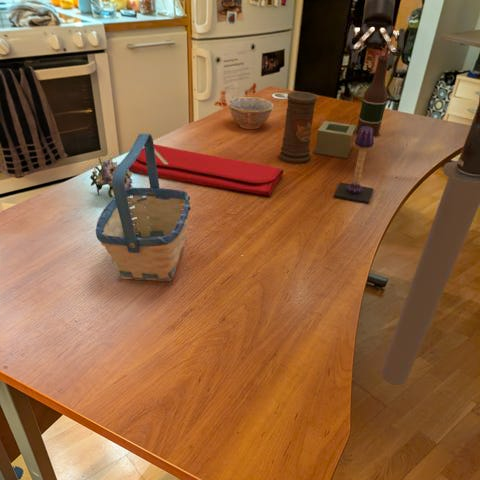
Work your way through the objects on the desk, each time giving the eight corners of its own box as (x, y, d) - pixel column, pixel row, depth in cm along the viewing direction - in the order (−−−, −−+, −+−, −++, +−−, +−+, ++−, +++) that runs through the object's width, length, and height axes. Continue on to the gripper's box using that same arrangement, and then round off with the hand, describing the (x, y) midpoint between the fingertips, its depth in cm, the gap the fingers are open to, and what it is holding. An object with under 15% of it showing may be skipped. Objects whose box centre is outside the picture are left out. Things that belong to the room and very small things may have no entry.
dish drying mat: (268, 198, 119) (269, 184, 117) (126, 172, 128) (125, 159, 126) (283, 175, 131) (284, 162, 129) (152, 153, 140) (151, 140, 137)
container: (274, 157, 141) (279, 94, 130) (291, 150, 147) (299, 89, 135) (297, 165, 137) (305, 101, 125) (314, 158, 142) (324, 95, 131)
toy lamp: (363, 195, 122) (378, 131, 111) (345, 194, 122) (359, 130, 111) (361, 188, 125) (375, 124, 115) (343, 186, 126) (356, 123, 115)
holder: (352, 147, 151) (356, 125, 146) (347, 158, 143) (351, 135, 139) (321, 142, 153) (324, 120, 149) (314, 152, 146) (317, 130, 141)
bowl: (281, 127, 163) (283, 105, 158) (249, 137, 154) (250, 113, 149) (249, 116, 171) (251, 94, 167) (217, 124, 163) (218, 101, 158)
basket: (124, 235, 102) (110, 126, 87) (197, 242, 101) (195, 133, 86) (91, 291, 86) (66, 169, 71) (177, 300, 85) (170, 178, 70)
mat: (372, 190, 126) (373, 188, 126) (368, 203, 120) (368, 201, 119) (340, 184, 128) (340, 182, 128) (334, 197, 122) (334, 195, 121)
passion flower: (127, 219, 119) (121, 196, 107) (86, 207, 118) (75, 183, 107) (141, 181, 122) (135, 155, 110) (101, 170, 121) (91, 142, 110)
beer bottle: (366, 128, 167) (383, 53, 151) (383, 134, 162) (401, 58, 146) (351, 131, 163) (366, 54, 148) (367, 138, 158) (385, 60, 143)
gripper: (353, -5, 116) (345, 55, 115) (411, -1, 115) (403, 60, 113) (349, 17, 124) (341, 74, 122) (403, 21, 122) (396, 79, 121)
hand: (371, 67), depth 118 cm, fingers open, 8 cm apart
